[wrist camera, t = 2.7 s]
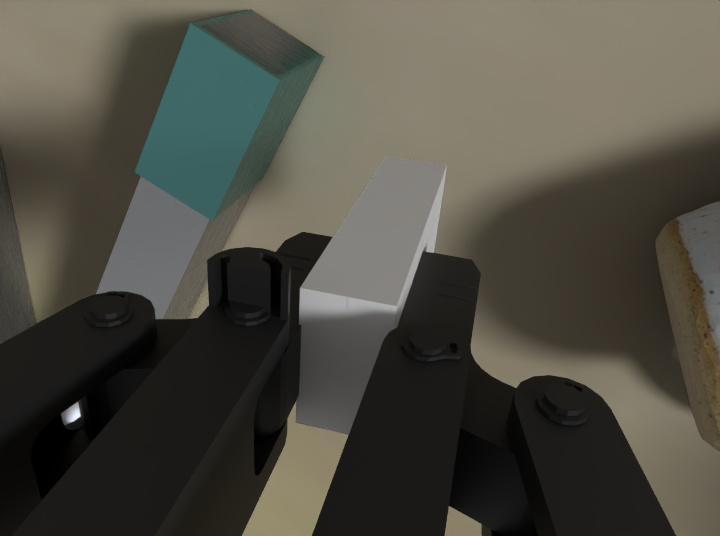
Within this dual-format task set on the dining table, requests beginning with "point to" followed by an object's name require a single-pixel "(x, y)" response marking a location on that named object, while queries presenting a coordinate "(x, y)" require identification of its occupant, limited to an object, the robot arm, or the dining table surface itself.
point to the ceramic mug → (695, 308)
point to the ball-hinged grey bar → (11, 272)
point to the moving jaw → (205, 156)
